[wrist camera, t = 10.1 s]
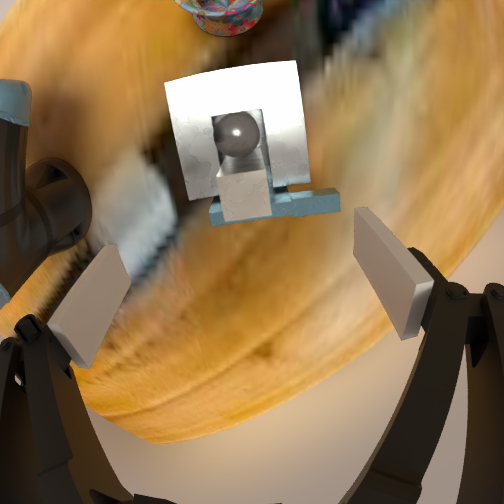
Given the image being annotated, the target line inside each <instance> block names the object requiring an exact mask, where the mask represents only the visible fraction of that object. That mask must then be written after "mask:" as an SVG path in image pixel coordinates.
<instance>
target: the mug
mask: <svg viewBox="0 0 504 504" xmlns="http://www.w3.org/2000/svg"><path fill="white" fill-rule="evenodd" d="M174 1H175V2H176V3H177V4H178V5H179V6H180V7H181V8H183V9H184V10H186V11H188V12H190V13H192V15H193V18H194V21H195V22H196V24H197V25H198V26H199V27H200V28H201V29H202V30H204V31H206V32H208V33H210V34H213V35H218V36H233V35H237V34H241V33H243V32H245V31H247V30H249V29H250V28H252V27H253V26H254V25H255V24H256V23H257V22H258V21H259V19H260V18H261V16H262V13H263V2H262V0H174Z"/></svg>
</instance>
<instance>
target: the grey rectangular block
mask: <svg viewBox="0 0 504 504" xmlns="http://www.w3.org/2000/svg"><path fill="white" fill-rule="evenodd" d="M216 180H217V185H218V190H219V195H220V200H221V205H222V210H223V214H224V219H225V222H228V221H235V220H242V219H249V218H256V217H263V216H270V215H272V212H271V205H270V197H269V190H268V183H267V176H266V169H265V165H264V161H263V157H262V153H261V148H256V149H255V150H254V151H253V152H252V153H250V154H249V155H247V156H244V157H239V158H234V157H229V156H227V155H226V156H225V158H224V161H223V163H222V165H221V167H220V169H219V171H218V174H217V176H216Z"/></svg>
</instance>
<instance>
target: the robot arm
mask: <svg viewBox="0 0 504 504" xmlns="http://www.w3.org/2000/svg"><path fill="white" fill-rule="evenodd" d="M31 100H32V90H31V88H30V86H29V85H28V84H27V83H26V82H24V81H20V80H10V79H0V310H1V309H2V307H3V306H4V305H5V304H6V303H9V302H10V300H11V298H12V297H13V296H14V295H15V294H16V292H17V291H18V290H19V289H20V287H21V286H22V285H23V284H24V283H25V282H26V280H27V279H28V278H29V277H30V276H31V275H32V274H33V272H34V271H35V270H36V269H37V268H38V267H39V266H40V265H41V264H42V262H43V261H44V260H45V259H46V258H47V257H49V256H52V255H54V254H57V253H60V252H62V251H65V250H68V249H70V248H71V247H73V246H74V245H76V244H77V243H78V242H79V241H80V240H81V239H82V238H83V236H84V235H85V234H86V232H87V230H88V228H89V225H90V221H91V201H90V196H89V192H88V190H87V187H86V185H85V183H84V181H83V179H82V177H81V176H80V175H79V173H78V172H77V171H76V170H75V169H74V168H73V167H72V166H71V165H70V164H68V163H67V162H65V161H63V160H61V159H57V158H47V159H44V160H41V161H39V162H37V163H35V164H33V165H31V166H30V167H29V168H28V169H27V170H26V171H25V164H26V147H27V136H28V127H30V124H31V122H30V121H29V118H30V108H31ZM353 254H354V256H355V258H356V259H357V261H358V263H359V264H360V266H361V268H362V269H363V271H364V273H365V275H366V276H367V278H368V280H369V282H370V283H371V285H372V287H373V289H374V290H375V292H376V294H377V296H378V297H379V299H380V301H381V303H382V305H383V307H384V308H385V310H386V312H387V314H388V316H389V318H390V320H391V322H392V323H393V325H394V327H395V329H396V331H397V333H398V335H399V337H400V339H401V340H405V339H409V338H412V337H416V336H418V333H419V330H420V327H421V326H422V328H423V329H424V331H425V335H424V337H423V340H422V343H421V345H420V348H419V352H418V355H417V358H416V361H415V364H414V366H413V369H412V371H411V374H410V376H409V379H408V381H407V384H406V386H405V389H404V391H403V393H402V396H401V398H400V400H399V403H398V405H397V407H396V409H395V411H394V413H393V415H392V417H391V420H390V421H389V424H388V426H387V427H386V429H385V431H384V433H383V435H382V437H381V439H380V441H379V442H378V444H377V446H376V448H375V449H374V452H373V453H372V455H371V456H370V458H369V460H368V462H367V463H366V465H365V466H364V468H363V469H362V471H361V473H360V474H359V476H358V477H357V479H356V480H355V482H354V483H353V485H352V486H351V488H350V489H349V490H348V491H347V493H346V494H345V495H344V497H343V498H342V499H341V501H340V502H339V503H338V504H416V503H417V501H418V499H419V497H420V494H421V491H422V486H421V482H422V479H423V476H424V474H425V472H426V470H427V468H428V465H429V463H430V461H431V458H432V456H433V454H434V451H435V449H436V446H437V444H438V441H439V438H440V436H441V433H442V430H443V427H444V424H445V421H446V418H447V415H448V412H449V409H450V405H451V402H452V398H453V395H454V391H455V387H456V383H457V379H458V375H459V370H460V365H461V361H462V355H463V350H464V345H465V349H466V362H467V378H468V420H467V437H466V448H465V458H464V465H463V472H462V478H461V484H460V489H459V494H458V498H457V503H456V504H504V286H503V285H501V284H498V283H489V284H487V285H486V287H485V289H484V292H483V294H475V293H474V294H473V293H469V292H468V290H467V289H466V288H465V287H464V286H463V285H461V284H458V283H455V282H448V281H447V280H446V279H445V277H444V276H443V275H442V274H441V273H440V272H439V271H438V269H437V268H436V267H435V266H433V264H432V263H431V261H430V260H428V258H427V257H426V256H425V255H424V254H423V253H422V252H421V251H419V250H417V249H415V248H414V247H412V248H406V247H405V246H404V245H403V244H402V243H401V241H400V240H399V239H398V238H397V237H396V236H395V235H394V234H393V233H392V232H391V231H390V230H389V228H388V227H387V226H386V225H385V224H384V223H383V222H382V221H381V220H380V219H379V218H378V217H377V216H376V215H375V214H374V213H373V212H372V211H371V210H370V209H369V208H368V207H363V208H354V249H353ZM130 285H131V281H130V279H129V276H128V274H127V272H126V269H125V267H124V265H123V262H122V260H121V257H120V255H119V252H118V250H117V247H116V244H111V245H105V246H104V247H103V248H102V249H101V251H100V252H99V253H98V254H97V256H96V257H95V258H94V259H93V261H92V262H91V263H90V264H89V266H88V267H87V268H86V270H85V271H84V272H83V273H82V275H81V276H80V277H79V279H78V280H77V281H76V283H75V284H74V285H73V287H72V288H71V290H70V291H69V292H68V294H67V295H66V297H65V298H63V300H62V301H61V302H60V304H59V305H58V306H59V307H57V308H56V310H55V312H54V313H53V314H52V316H51V317H50V319H49V320H48V322H47V323H46V325H45V326H44V328H42V327H41V325H40V324H39V322H38V321H37V319H36V317H35V316H34V315H33V314H28V315H26V316H24V317H23V318H21V319H20V320H19V321H18V322H17V324H16V325H15V328H14V331H15V332H16V334H17V335H18V336H19V338H20V339H21V341H22V342H23V343H21V344H18V343H17V342H16V340H15V339H14V338H13V337H8V338H6V339H4V340H3V341H2V342H1V344H0V504H176V503H174V502H171V501H168V500H166V499H160V498H153V497H148V496H143V495H139V494H134V497H133V496H132V495H131V494H130V493H129V492H128V491H127V490H126V489H125V488H124V487H123V486H122V485H121V483H120V482H119V480H118V478H117V476H116V474H115V473H114V471H113V469H112V467H111V465H110V463H109V461H108V459H107V457H106V455H105V453H104V451H103V448H102V446H101V444H100V442H99V440H98V437H97V435H96V433H95V430H94V428H93V426H92V424H91V421H90V418H89V416H88V413H87V410H86V408H85V405H84V402H83V399H82V397H81V394H80V391H79V388H78V384H77V381H76V378H75V375H74V371H73V369H72V367H71V366H70V365H69V364H70V361H71V359H72V360H73V361H74V363H75V364H76V365H77V366H78V368H89V369H90V368H91V366H92V363H93V361H94V359H95V357H96V354H97V352H98V350H99V348H100V345H101V343H102V341H103V339H104V337H105V335H106V333H107V330H108V328H109V326H110V324H111V322H112V320H113V318H114V316H115V314H116V312H117V310H118V308H119V306H120V304H121V302H122V300H123V298H124V296H125V294H126V293H127V291H128V289H129V287H130ZM15 375H16V376H17V378H18V379H19V380H20V381H21V385H19V384H18V383H17V382H16V381H15ZM278 504H282V503H278Z"/></svg>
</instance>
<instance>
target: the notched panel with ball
mask: <svg viewBox="0 0 504 504" xmlns="http://www.w3.org/2000/svg"><path fill="white" fill-rule="evenodd" d="M164 84H165V89H166V95H167V100H168V105H169V110H170V116H171V121H172V125H173V130H174V135H175V140H176V145H177V149H178V154H179V158H180V163H181V167H182V172H183V176H184V180H185V184H186V189H187V193H188V197H189V200H194V199H199V198H205V197H211V196H215V197H214V199H213V202H212V205H211V208H210V211H209V218H210V222H211V226H219V225H225V224H232V223H239V222H246V221H253V220H260V219H267V218H275V217H282V216H290V215H293V217H300V216H308V215H316V214H324V213H332V212H340V193H339V192H338V191H337V190H336V189H335V188H327V189H318V190H309V191H300V192H292V193H288V190H287V188H286V185H294V184H302V183H311V181H310V170H309V159H308V149H307V140H306V131H305V123H304V115H303V107H302V100H301V93H300V86H299V79H298V73H297V66H296V61H285V62H273V63H264V64H255V65H248V66H241V67H234V68H228V69H223V70H217V71H212V72H207V73H203V74H198V75H194V76H189V77H185V78H181V79H177V80H173V81H170V82H166V83H164ZM256 148H261V153H262V157H263V161H264V165H265V169H266V176H267V183H268V190H269V197H270V205H271V212H272V215H270V216H263V217H256V218H249V219H242V220H235V221H228V222H225V219H224V214H223V210H222V205H221V200H220V195H219V190H218V185H217V180H216V176H217V174H218V171H219V169H220V167H221V165H222V163H223V161H224V158H225V156H226V155H227V156H229V157H234V158H239V157H244V156H247V155H249V154H250V153H252V152H253V151H254V150H255V149H256Z"/></svg>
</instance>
